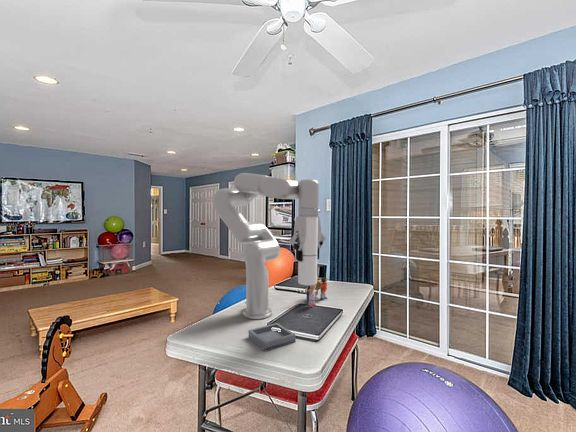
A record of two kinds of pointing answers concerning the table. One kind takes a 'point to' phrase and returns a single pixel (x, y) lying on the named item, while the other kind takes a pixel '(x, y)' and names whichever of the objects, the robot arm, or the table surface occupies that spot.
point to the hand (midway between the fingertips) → (307, 259)
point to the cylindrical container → (309, 254)
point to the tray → (271, 336)
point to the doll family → (316, 291)
